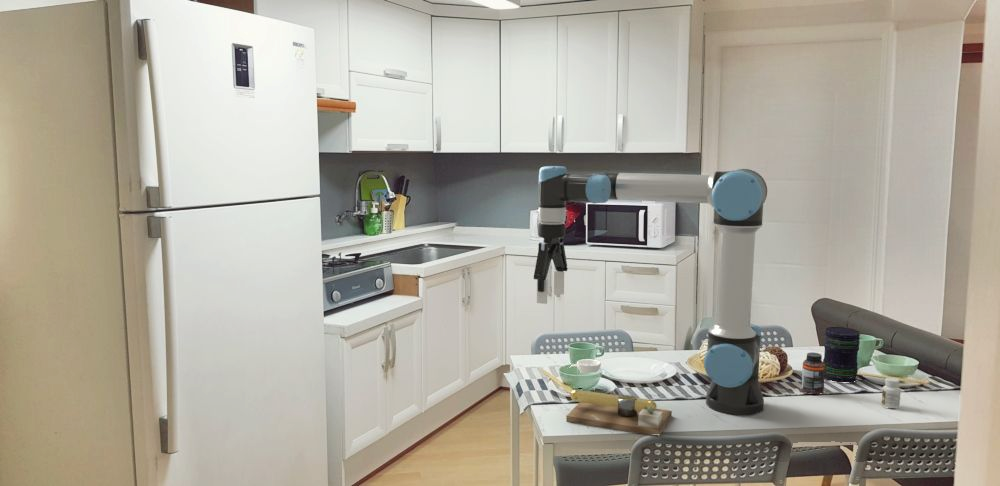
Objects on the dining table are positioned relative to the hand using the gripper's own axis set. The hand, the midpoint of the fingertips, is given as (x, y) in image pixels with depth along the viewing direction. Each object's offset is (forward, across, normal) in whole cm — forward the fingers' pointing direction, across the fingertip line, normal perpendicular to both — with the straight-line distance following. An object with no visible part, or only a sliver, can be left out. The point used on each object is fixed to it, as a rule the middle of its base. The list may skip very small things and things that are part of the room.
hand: (550, 298), depth 216 cm
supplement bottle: (+28, -34, +68) cm, 81 cm away
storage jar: (+28, -51, +75) cm, 95 cm away
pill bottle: (+28, -30, +88) cm, 97 cm away
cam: (+26, +10, +21) cm, 35 cm away
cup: (+28, -9, +7) cm, 31 cm away
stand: (+28, +10, +23) cm, 38 cm away
